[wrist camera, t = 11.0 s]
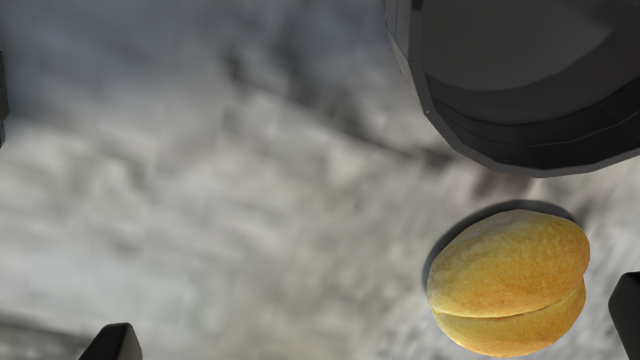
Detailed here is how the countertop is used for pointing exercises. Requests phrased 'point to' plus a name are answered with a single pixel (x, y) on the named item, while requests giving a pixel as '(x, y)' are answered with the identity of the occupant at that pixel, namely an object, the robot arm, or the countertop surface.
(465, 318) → the bread roll
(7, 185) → the countertop surface
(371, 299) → the countertop surface
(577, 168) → the pan
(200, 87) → the countertop surface
